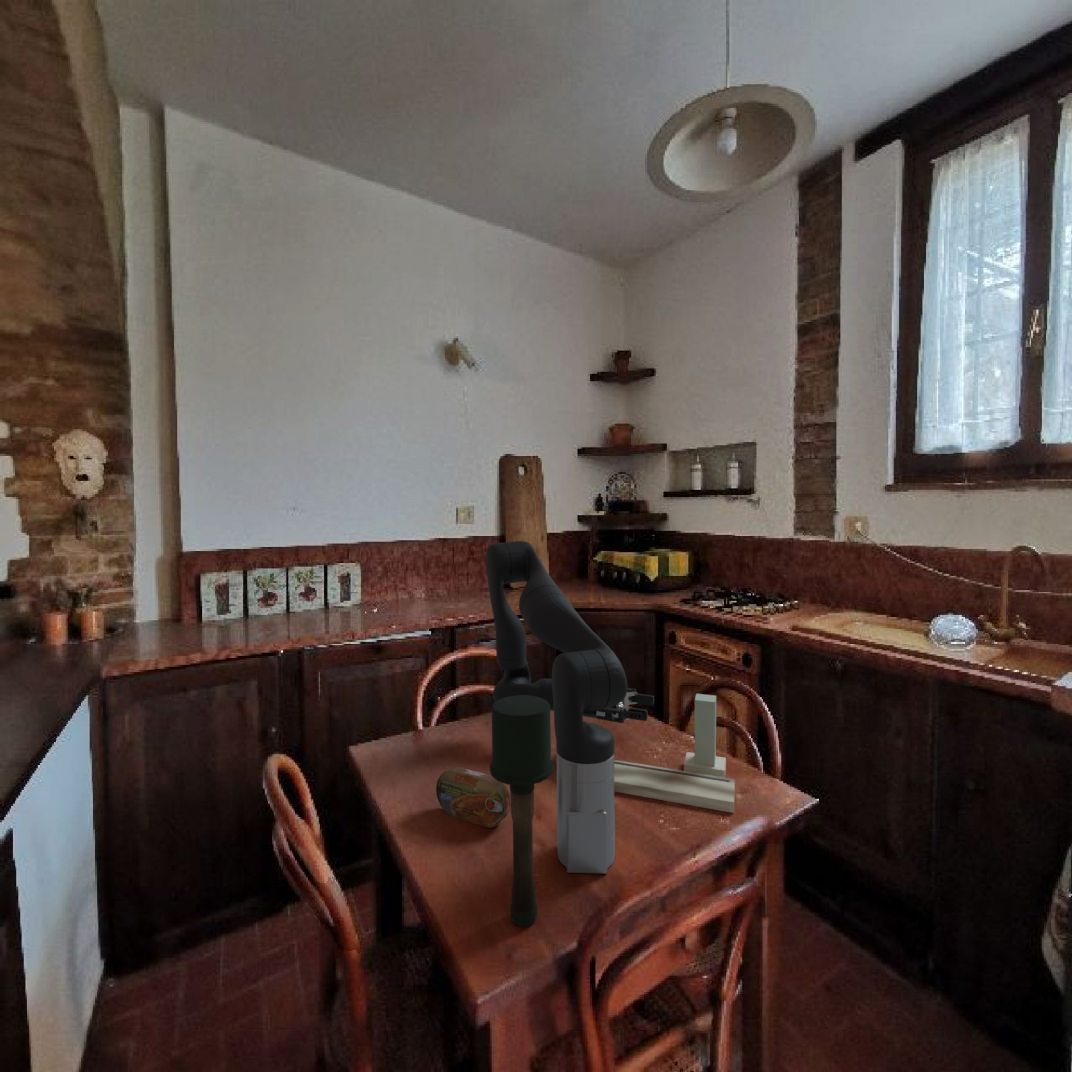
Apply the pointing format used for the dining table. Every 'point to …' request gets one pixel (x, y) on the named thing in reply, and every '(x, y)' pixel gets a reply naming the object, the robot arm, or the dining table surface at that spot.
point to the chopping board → (675, 785)
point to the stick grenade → (522, 784)
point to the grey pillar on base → (705, 740)
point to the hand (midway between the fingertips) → (650, 708)
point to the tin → (473, 796)
